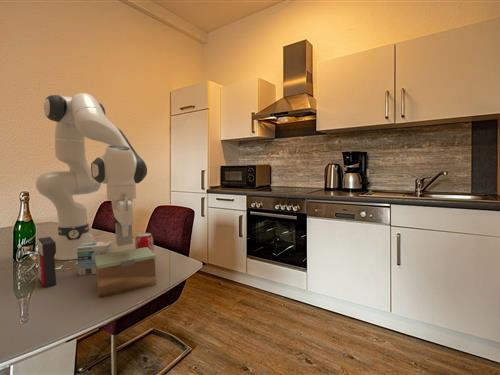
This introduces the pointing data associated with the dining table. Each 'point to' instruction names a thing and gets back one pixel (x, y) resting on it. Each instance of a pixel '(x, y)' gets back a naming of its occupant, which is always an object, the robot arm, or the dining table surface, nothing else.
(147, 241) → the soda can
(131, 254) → the lid
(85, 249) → the light bulb box
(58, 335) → the dining table surface
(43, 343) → the dining table surface
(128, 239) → the block
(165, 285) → the dining table surface
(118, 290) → the storage box
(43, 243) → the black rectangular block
